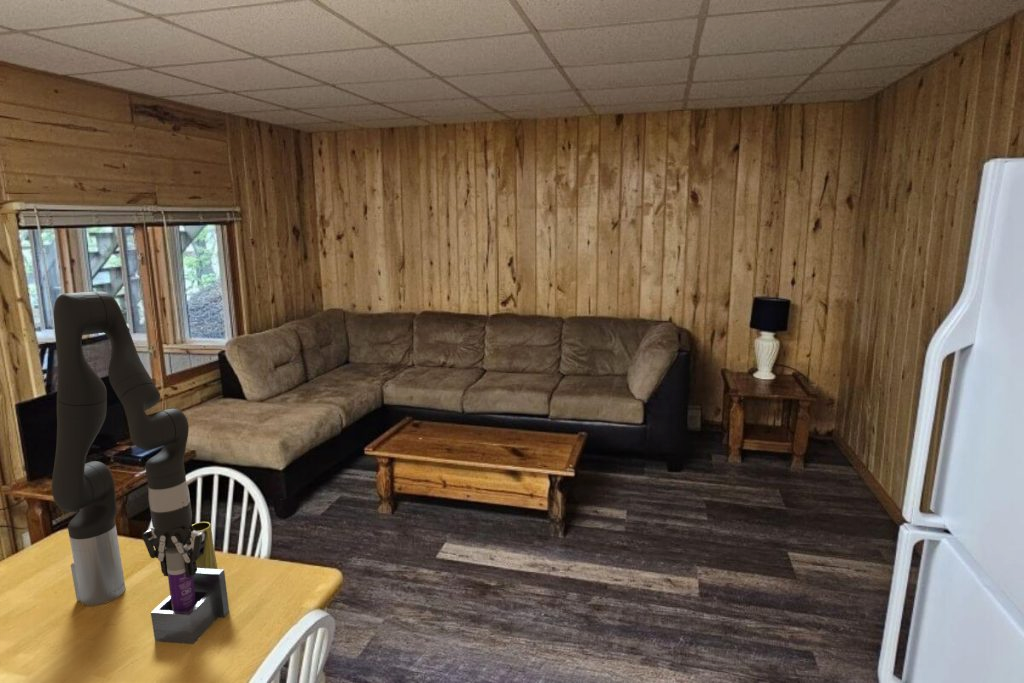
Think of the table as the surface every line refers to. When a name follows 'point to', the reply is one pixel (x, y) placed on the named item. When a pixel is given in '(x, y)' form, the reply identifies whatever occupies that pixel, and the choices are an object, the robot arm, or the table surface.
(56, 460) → the robot arm
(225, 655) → the table surface
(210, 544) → the vase
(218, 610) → the cup bracket
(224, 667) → the table surface
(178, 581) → the container
